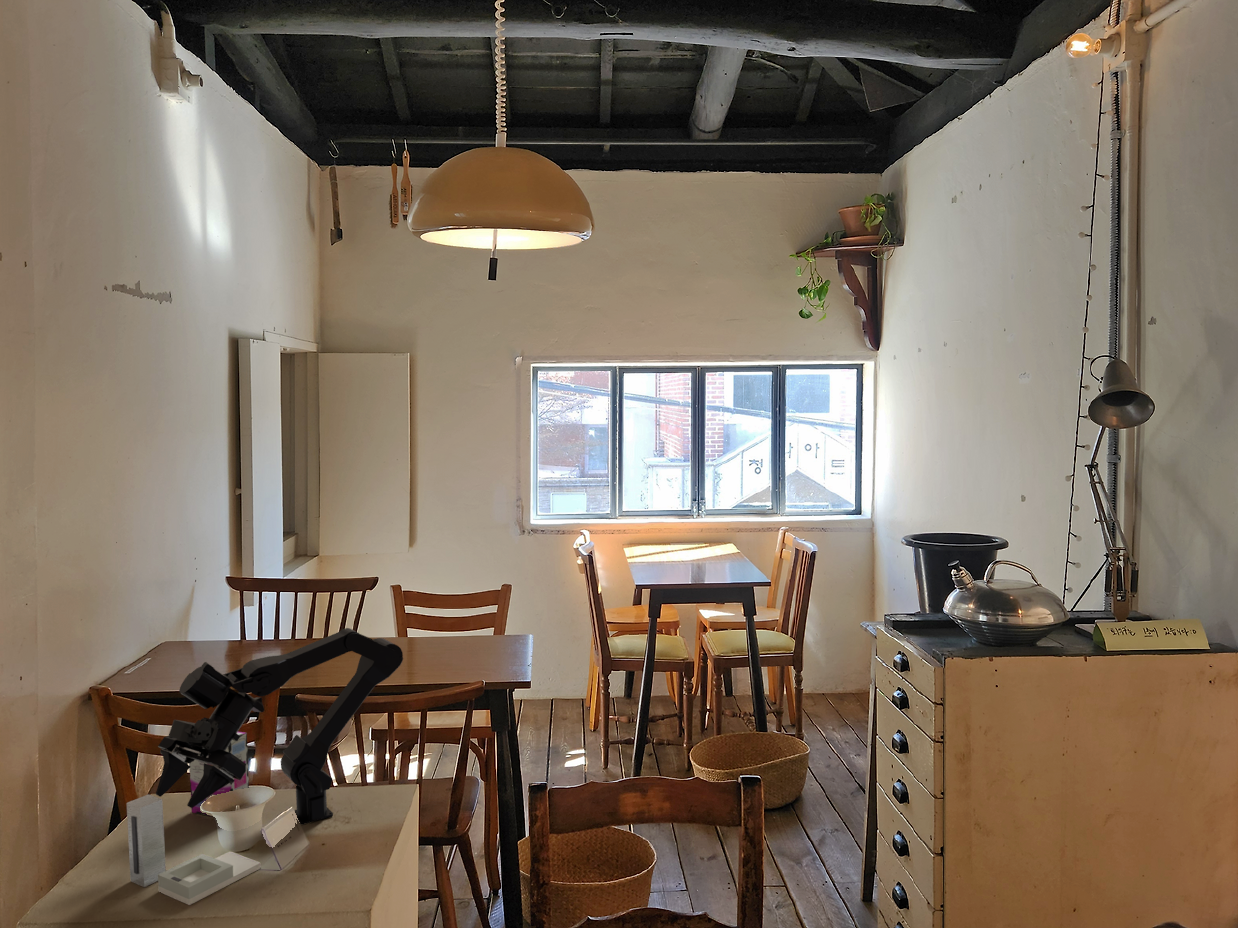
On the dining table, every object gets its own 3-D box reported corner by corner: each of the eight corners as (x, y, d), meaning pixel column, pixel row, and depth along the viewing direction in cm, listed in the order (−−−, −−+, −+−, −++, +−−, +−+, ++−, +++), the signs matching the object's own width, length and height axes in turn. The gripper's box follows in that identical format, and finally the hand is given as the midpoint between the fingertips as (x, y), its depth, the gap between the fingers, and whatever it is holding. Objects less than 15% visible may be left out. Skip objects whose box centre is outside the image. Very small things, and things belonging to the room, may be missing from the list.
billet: (152, 870, 167) (148, 794, 166) (166, 876, 165) (162, 799, 164) (129, 881, 163) (125, 803, 162) (143, 887, 161) (139, 808, 160)
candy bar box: (251, 811, 191) (248, 731, 189) (233, 821, 186) (229, 740, 185) (209, 802, 195) (205, 725, 194) (190, 812, 190) (186, 733, 189)
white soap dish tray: (230, 856, 172) (229, 839, 172) (260, 867, 168) (260, 851, 167) (158, 891, 160) (157, 873, 160) (189, 904, 156) (188, 886, 156)
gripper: (165, 692, 176) (110, 770, 168) (229, 709, 167) (174, 792, 158) (205, 721, 184) (154, 797, 175) (268, 738, 174) (217, 820, 165)
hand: (173, 801), depth 168 cm, fingers open, 9 cm apart
